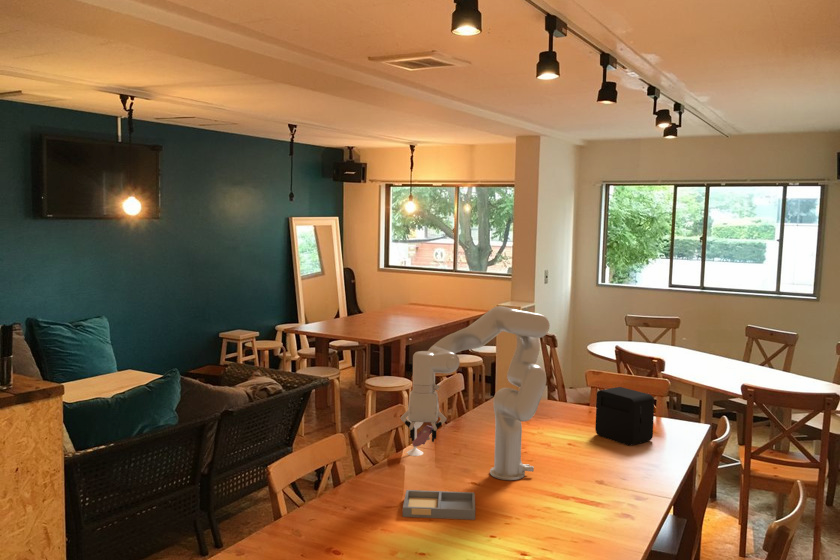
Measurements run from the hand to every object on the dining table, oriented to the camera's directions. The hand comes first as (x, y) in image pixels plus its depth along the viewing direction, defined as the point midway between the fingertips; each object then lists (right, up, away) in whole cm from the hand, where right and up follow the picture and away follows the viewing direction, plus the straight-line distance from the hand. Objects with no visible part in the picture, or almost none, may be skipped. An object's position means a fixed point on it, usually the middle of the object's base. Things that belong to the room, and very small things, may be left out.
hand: (423, 440), depth 239 cm
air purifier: (+87, -14, +63) cm, 108 cm away
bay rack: (+5, -19, -14) cm, 24 cm away
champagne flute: (-3, -14, +39) cm, 42 cm away
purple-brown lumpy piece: (0, -1, 0) cm, 1 cm away
